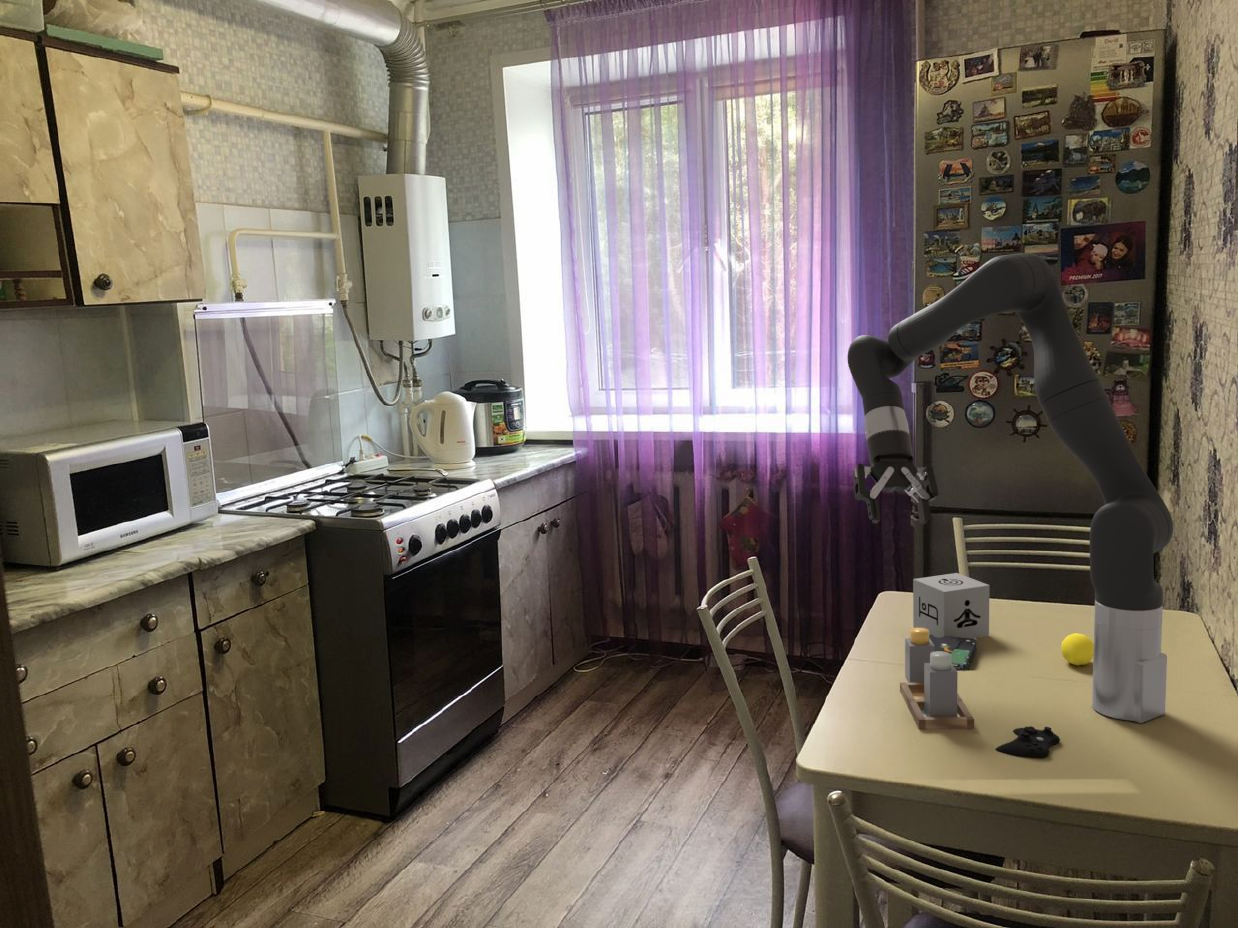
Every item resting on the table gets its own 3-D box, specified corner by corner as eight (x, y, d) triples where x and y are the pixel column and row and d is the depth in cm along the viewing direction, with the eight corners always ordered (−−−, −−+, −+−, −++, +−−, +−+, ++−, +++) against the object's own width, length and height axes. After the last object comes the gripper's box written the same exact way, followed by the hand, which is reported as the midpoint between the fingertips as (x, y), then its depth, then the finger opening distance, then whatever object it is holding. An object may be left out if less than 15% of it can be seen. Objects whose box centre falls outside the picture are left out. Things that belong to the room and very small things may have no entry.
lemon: (1092, 674, 173) (1093, 645, 172) (1058, 670, 176) (1058, 641, 174) (1096, 655, 179) (1096, 627, 177) (1063, 652, 181) (1063, 624, 180)
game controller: (1009, 728, 150) (1050, 711, 145) (1028, 759, 148) (1070, 743, 144) (986, 751, 142) (1029, 734, 138) (1006, 785, 141) (1050, 768, 137)
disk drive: (919, 647, 190) (905, 673, 177) (919, 632, 190) (905, 657, 177) (977, 652, 186) (967, 679, 173) (977, 638, 186) (967, 664, 172)
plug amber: (929, 683, 171) (929, 626, 169) (934, 692, 167) (934, 634, 165) (905, 683, 171) (905, 626, 170) (909, 692, 167) (909, 634, 166)
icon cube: (913, 628, 200) (913, 579, 198) (956, 621, 203) (956, 572, 201) (944, 643, 190) (944, 591, 189) (988, 635, 193) (989, 585, 192)
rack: (950, 697, 164) (950, 682, 164) (974, 736, 149) (974, 719, 149) (900, 698, 165) (899, 682, 164) (918, 736, 150) (918, 719, 150)
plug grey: (950, 712, 155) (951, 649, 154) (957, 722, 151) (957, 658, 150) (924, 712, 156) (924, 650, 154) (929, 723, 152) (929, 659, 150)
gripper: (856, 427, 177) (868, 513, 170) (934, 429, 178) (949, 515, 172) (842, 445, 183) (853, 529, 177) (918, 447, 185) (931, 530, 178)
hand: (900, 522), depth 174 cm, fingers open, 8 cm apart
